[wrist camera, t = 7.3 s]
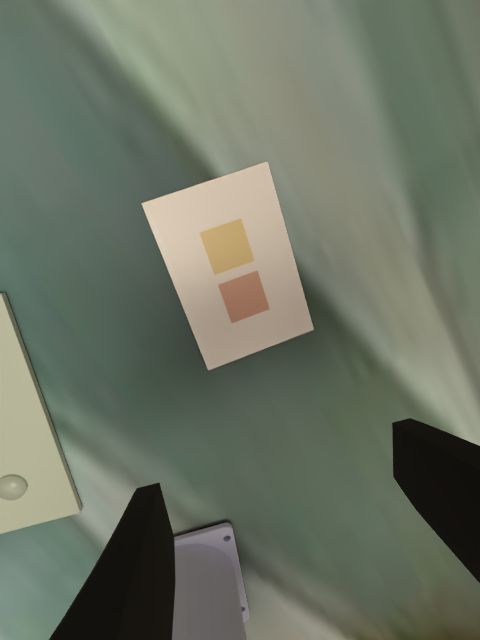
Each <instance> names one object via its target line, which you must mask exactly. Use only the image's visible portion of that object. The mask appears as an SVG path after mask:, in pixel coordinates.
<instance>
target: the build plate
mask: <svg viewBox="0 0 480 640" xmlns="http://www.w3.org/2000/svg"><path fill="white" fill-rule="evenodd" d="M81 510H82V505H81V502H80V500H79V497H78V494H77V491H76V488H75V486H74V483H73V480H72V477H71V474H70V472H69V469H68V466H67V463H66V461H65V458H64V455H63V452H62V449H61V447H60V444H59V441H58V438H57V435H56V433H55V430H54V427H53V424H52V421H51V419H50V416H49V413H48V410H47V407H46V405H45V402H44V399H43V396H42V393H41V391H40V388H39V385H38V382H37V379H36V377H35V374H34V371H33V368H32V365H31V363H30V360H29V357H28V354H27V352H26V349H25V346H24V343H23V340H22V338H21V335H20V332H19V329H18V326H17V324H16V321H15V318H14V315H13V312H12V310H11V307H10V304H9V301H8V298H7V296H6V293H0V534H1V533H4V532H8V531H12V530H16V529H20V528H24V527H28V526H31V525H35V524H39V523H43V522H47V521H51V520H54V519H58V518H62V517H66V516H70V515H74V514H77V513H80V512H81Z"/></svg>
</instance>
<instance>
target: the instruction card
mask: <svg viewBox="0 0 480 640" xmlns="http://www.w3.org/2000/svg"><path fill="white" fill-rule="evenodd" d="M141 204H142V206H143V209H144V211H145V214H146V216H147V219H148V221H149V224H150V226H151V229H152V231H153V234H154V236H155V239H156V241H157V244H158V246H159V249H160V251H161V254H162V256H163V259H164V261H165V264H166V266H167V269H168V271H169V274H170V276H171V279H172V281H173V284H174V286H175V289H176V291H177V294H178V296H179V299H180V301H181V304H182V306H183V309H184V311H185V314H186V316H187V319H188V321H189V324H190V326H191V329H192V331H193V334H194V336H195V339H196V341H197V344H198V346H199V349H200V351H201V354H202V356H203V359H204V361H205V364H206V366H207V369H208V371H209V370H211V369H214V368H216V367H219V366H222V365H224V364H227V363H229V362H232V361H234V360H237V359H240V358H242V357H245V356H247V355H250V354H252V353H255V352H258V351H260V350H263V349H265V348H268V347H271V346H273V345H276V344H278V343H281V342H283V341H286V340H289V339H291V338H294V337H296V336H299V335H301V334H304V333H307V332H309V331H312V330H314V328H313V325H312V321H311V317H310V314H309V310H308V306H307V303H306V299H305V296H304V292H303V288H302V285H301V281H300V277H299V274H298V270H297V267H296V263H295V259H294V256H293V252H292V248H291V245H290V241H289V238H288V234H287V230H286V227H285V223H284V219H283V216H282V212H281V209H280V205H279V201H278V198H277V194H276V190H275V187H274V183H273V180H272V176H271V172H270V169H269V165H268V161H267V162H264V163H261V164H258V165H255V166H252V167H249V168H246V169H243V170H240V171H237V172H234V173H231V174H228V175H225V176H222V177H219V178H216V179H213V180H210V181H207V182H204V183H201V184H198V185H195V186H192V187H189V188H186V189H183V190H180V191H177V192H174V193H171V194H168V195H165V196H162V197H159V198H156V199H153V200H150V201H147V202H144V203H141Z"/></svg>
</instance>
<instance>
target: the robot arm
mask: <svg viewBox="0 0 480 640" xmlns="http://www.w3.org/2000/svg"><path fill="white" fill-rule="evenodd" d="M392 428H393V476H394V478H395V480H396V481H397V483H398V484H399V486H400V487H401V489H402V490H403V492H404V493H405V495H406V496H407V498H408V499H409V500H410V502H411V503H412V505H413V506H414V507H415V509H416V510H417V511H418V512H419V514H420V515H421V516H422V517H423V518H424V520H425V521H426V522H427V523H428V524H429V525H430V527H431V528H432V529H433V530H434V531H435V532H436V533H437V535H438V536H439V537H440V538H441V539H442V540H443V542H444V543H445V544H446V545H447V546H448V547H449V548H450V550H451V551H452V552H453V553H454V554H455V555H456V556H457V558H458V559H459V560H460V561H461V562H462V563H463V564H464V566H465V567H466V568H467V569H468V570H469V571H470V572H471V574H472V575H473V576H474V577H475V578H476V579H477V581H478V582H479V583H480V446H479V445H476V444H474V443H471V442H469V441H466V440H464V439H461V438H459V437H457V436H454V435H452V434H449V433H447V432H444V431H442V430H440V429H437V428H435V427H432V426H430V425H427V424H424V423H422V422H419V421H416V420H414V419H411V418H409V419H406V420H402V421H398V422H394V423H392ZM228 535H229V536H228ZM249 618H250V613H249V608H248V603H247V598H246V593H245V588H244V583H243V578H242V573H241V568H240V563H239V558H238V553H237V548H236V543H235V538H234V533H233V528H232V525H231V524H230V523H222V524H219V525H215V526H212V527H208V528H205V529H201V530H198V531H194V532H190V533H187V534H183V535H180V536H176V537H174V536H173V532H172V528H171V525H170V521H169V517H168V513H167V510H166V506H165V502H164V498H163V495H162V491H161V487H160V483H156V484H152V485H148V486H144V487H140V488H137V489H136V491H135V492H134V494H133V496H132V498H131V500H130V502H129V504H128V506H127V508H126V510H125V512H124V514H123V516H122V518H121V519H120V521H119V523H118V525H117V527H116V529H115V531H114V533H113V534H112V536H111V538H110V540H109V542H108V544H107V545H106V547H105V549H104V551H103V552H102V554H101V556H100V558H99V560H98V561H97V563H96V565H95V567H94V568H93V570H92V572H91V574H90V575H89V577H88V579H87V580H86V582H85V583H84V585H83V587H82V588H81V590H80V592H79V593H78V595H77V596H76V598H75V600H74V601H73V603H72V605H71V606H70V608H69V609H68V611H67V613H66V614H65V616H64V617H63V619H62V621H61V622H60V624H59V625H58V627H57V628H56V630H55V631H54V633H53V634H52V636H51V637H50V639H49V640H246V634H245V628H244V623H245V622H247V621H248V620H249Z"/></svg>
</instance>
